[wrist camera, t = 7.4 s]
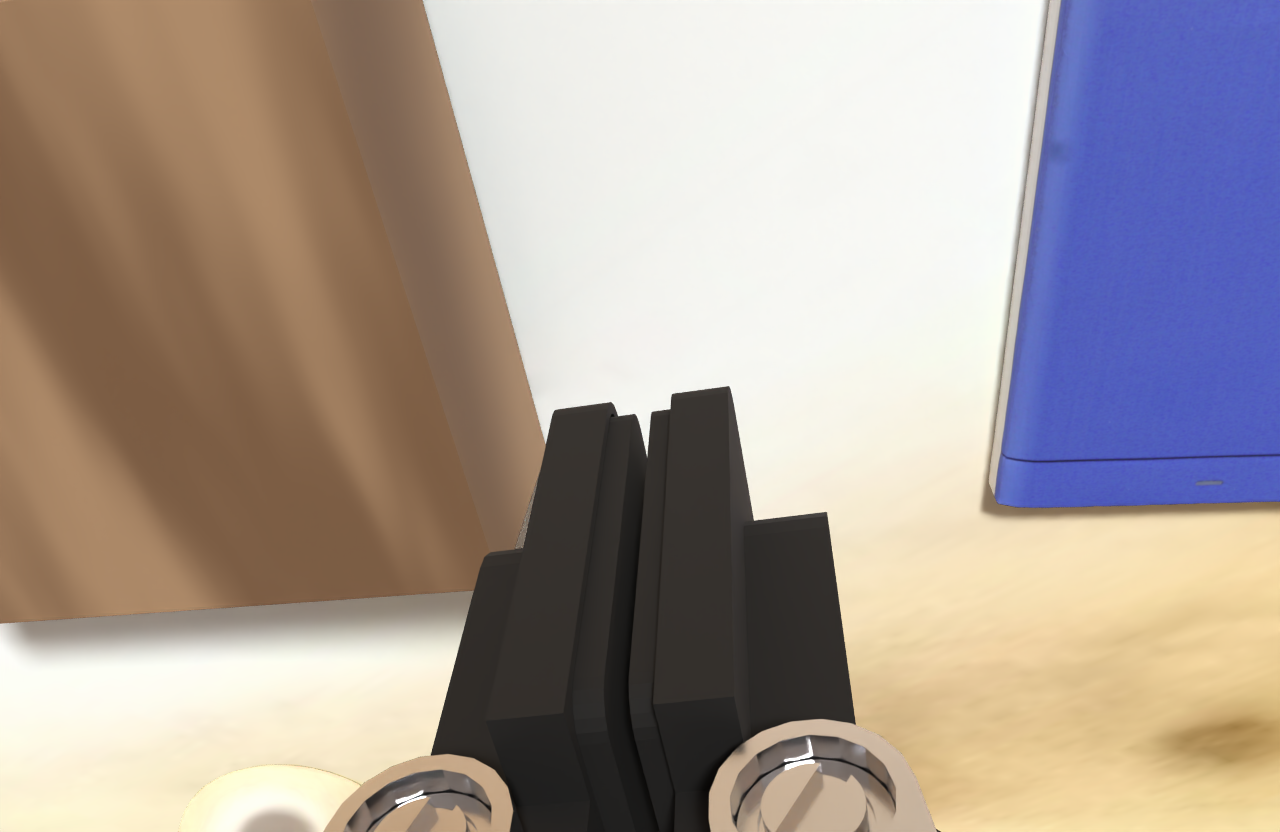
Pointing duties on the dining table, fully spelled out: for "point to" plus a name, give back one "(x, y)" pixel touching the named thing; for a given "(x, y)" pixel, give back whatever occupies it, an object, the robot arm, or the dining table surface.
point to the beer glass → (268, 801)
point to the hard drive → (1147, 262)
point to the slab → (244, 313)
